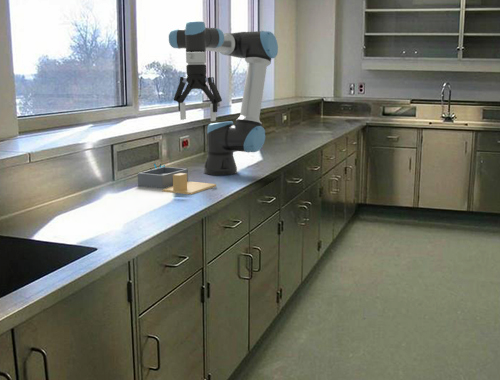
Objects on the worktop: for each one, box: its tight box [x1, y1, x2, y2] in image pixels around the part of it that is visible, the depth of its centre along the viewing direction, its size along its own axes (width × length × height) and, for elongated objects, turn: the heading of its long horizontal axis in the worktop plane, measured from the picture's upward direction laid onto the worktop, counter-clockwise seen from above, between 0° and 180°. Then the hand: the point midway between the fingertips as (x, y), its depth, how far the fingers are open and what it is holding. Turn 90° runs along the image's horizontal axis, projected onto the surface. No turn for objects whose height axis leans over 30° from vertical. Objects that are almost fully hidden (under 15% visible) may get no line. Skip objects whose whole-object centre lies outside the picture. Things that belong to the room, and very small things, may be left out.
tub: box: [137, 166, 189, 190], centre depth 237 cm, size 18×12×6 cm, turn 153°
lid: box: [162, 173, 217, 195], centre depth 227 cm, size 19×13×8 cm
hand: (198, 120), depth 226 cm, fingers open, 13 cm apart
